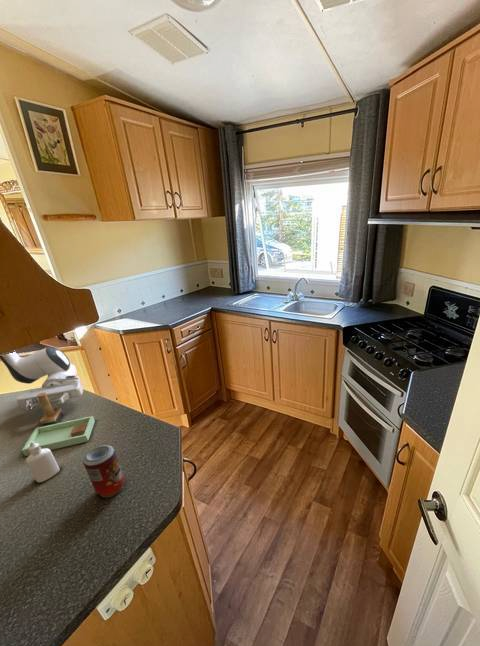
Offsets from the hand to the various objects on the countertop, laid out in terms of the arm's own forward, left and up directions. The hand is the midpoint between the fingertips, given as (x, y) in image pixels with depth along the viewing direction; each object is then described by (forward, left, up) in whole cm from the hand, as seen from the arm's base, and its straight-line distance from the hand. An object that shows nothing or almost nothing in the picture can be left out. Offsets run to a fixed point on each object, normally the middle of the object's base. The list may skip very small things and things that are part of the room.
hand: (44, 404), depth 102 cm
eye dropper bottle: (+7, -29, -8) cm, 31 cm away
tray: (+6, -11, -8) cm, 15 cm away
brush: (0, +1, -8) cm, 8 cm away
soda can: (+25, -41, -8) cm, 49 cm away
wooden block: (+11, -11, -7) cm, 18 cm away
